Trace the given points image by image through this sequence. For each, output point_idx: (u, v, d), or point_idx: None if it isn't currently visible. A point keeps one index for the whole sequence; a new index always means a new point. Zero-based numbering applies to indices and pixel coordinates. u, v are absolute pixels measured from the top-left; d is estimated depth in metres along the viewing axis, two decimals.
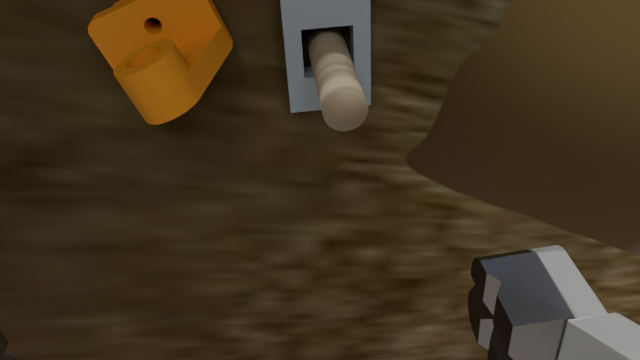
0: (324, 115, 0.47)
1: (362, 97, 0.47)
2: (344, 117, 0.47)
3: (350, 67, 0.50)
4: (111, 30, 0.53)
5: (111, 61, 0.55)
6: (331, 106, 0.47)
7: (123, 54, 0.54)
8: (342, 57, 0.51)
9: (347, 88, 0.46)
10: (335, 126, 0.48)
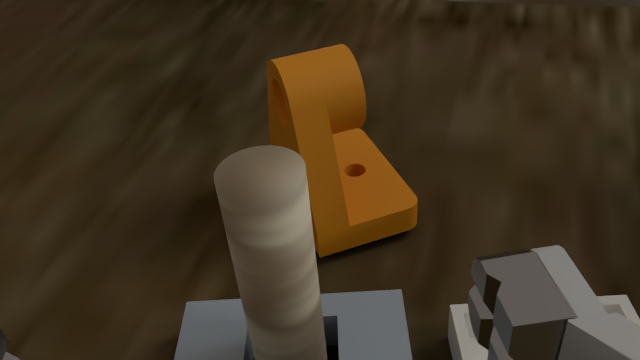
0: (258, 147, 0.25)
1: (284, 191, 0.22)
2: (246, 170, 0.24)
3: (306, 276, 0.25)
4: (351, 141, 0.45)
5: None
6: (275, 154, 0.24)
7: None
8: (315, 291, 0.27)
9: (306, 179, 0.24)
10: (229, 160, 0.24)
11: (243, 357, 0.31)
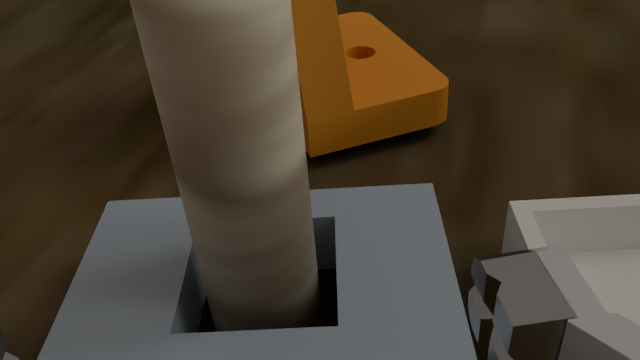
0: None
1: None
2: None
3: (279, 95, 0.14)
4: (356, 25, 0.34)
5: None
6: None
7: None
8: (297, 137, 0.15)
9: None
10: None
11: (184, 273, 0.19)
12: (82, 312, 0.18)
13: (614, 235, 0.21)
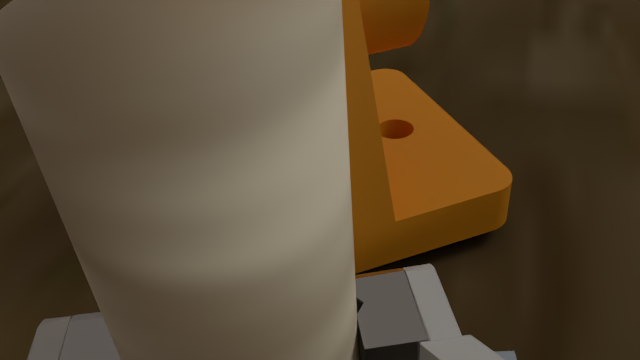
0: None
1: (257, 45, 0.05)
2: None
3: None
4: (385, 88, 0.28)
5: None
6: None
7: None
8: None
9: (342, 28, 0.06)
10: None
11: None
12: None
13: None
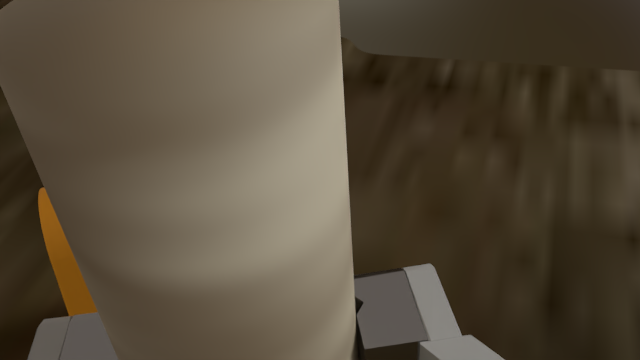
0: None
1: (254, 48, 0.05)
2: None
3: None
4: None
5: None
6: None
7: None
8: None
9: (339, 31, 0.06)
10: None
11: None
12: None
13: None
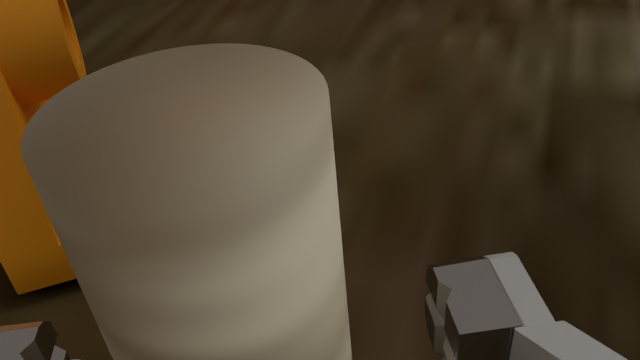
0: (186, 49, 0.09)
1: (255, 164, 0.06)
2: (136, 104, 0.07)
3: None
4: None
5: None
6: (235, 62, 0.08)
7: None
8: None
9: (330, 130, 0.07)
10: (94, 81, 0.08)
11: None
12: None
13: None
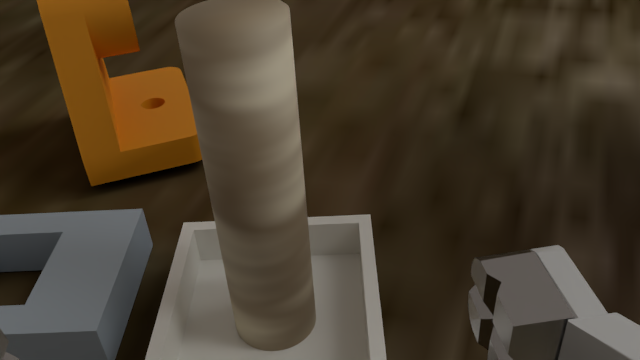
0: None
1: (262, 29, 0.18)
2: (216, 14, 0.19)
3: (288, 159, 0.21)
4: (163, 79, 0.43)
5: (126, 76, 0.44)
6: (253, 1, 0.20)
7: (129, 83, 0.43)
8: (300, 185, 0.22)
9: (290, 25, 0.19)
10: (196, 7, 0.20)
11: None
12: None
13: None
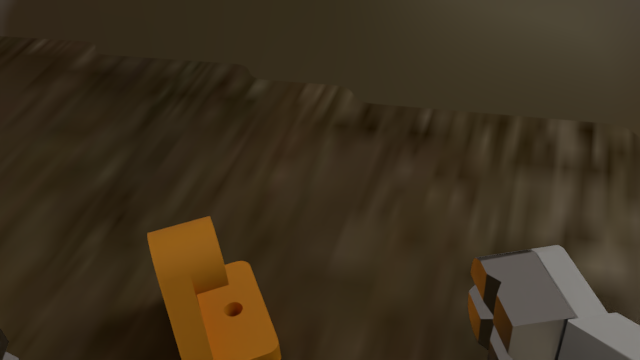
0: None
1: None
2: None
3: None
4: (237, 277, 0.53)
5: None
6: None
7: None
8: None
9: None
10: None
11: None
12: None
13: None
